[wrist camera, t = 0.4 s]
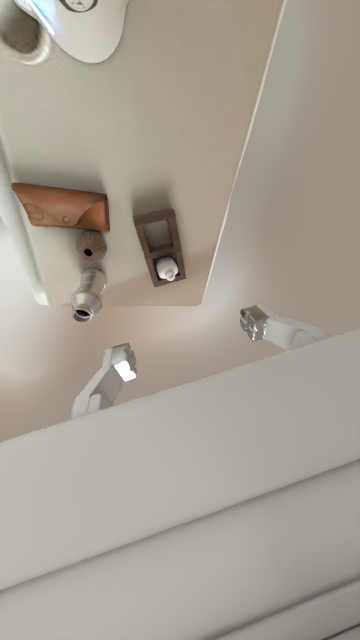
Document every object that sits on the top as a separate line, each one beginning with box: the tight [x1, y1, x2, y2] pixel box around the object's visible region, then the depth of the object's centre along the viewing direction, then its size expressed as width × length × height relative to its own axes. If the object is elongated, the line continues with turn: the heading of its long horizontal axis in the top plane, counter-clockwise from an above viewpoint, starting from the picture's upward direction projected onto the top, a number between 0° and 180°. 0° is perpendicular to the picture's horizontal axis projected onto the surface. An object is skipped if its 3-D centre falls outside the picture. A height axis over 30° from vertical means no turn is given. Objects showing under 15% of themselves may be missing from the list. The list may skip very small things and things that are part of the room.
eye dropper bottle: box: [156, 257, 178, 281], centre depth 50 cm, size 4×6×12 cm
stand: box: [133, 208, 186, 287], centre depth 50 cm, size 19×10×4 cm, turn 11°
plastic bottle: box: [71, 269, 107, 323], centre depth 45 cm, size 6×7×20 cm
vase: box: [76, 231, 107, 261], centre depth 44 cm, size 7×7×9 cm
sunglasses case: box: [12, 183, 110, 232], centre depth 40 cm, size 18×7×7 cm, turn 84°
